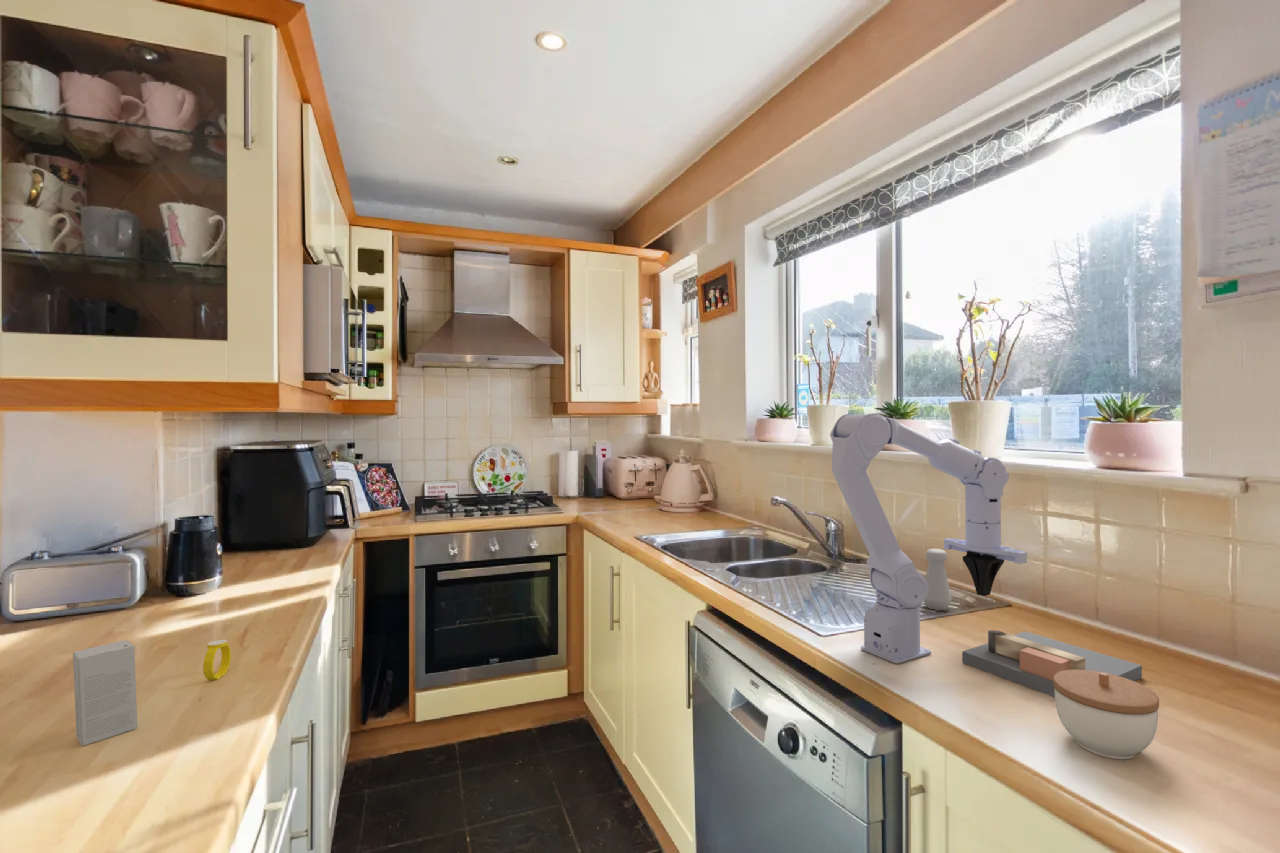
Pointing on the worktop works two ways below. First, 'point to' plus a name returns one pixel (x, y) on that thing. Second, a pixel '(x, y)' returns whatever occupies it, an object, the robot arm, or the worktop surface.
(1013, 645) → the stool leg
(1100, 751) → the lidded jar
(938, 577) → the salt shaker
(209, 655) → the watch
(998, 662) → the stool seat
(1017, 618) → the worktop surface
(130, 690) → the skincare box
